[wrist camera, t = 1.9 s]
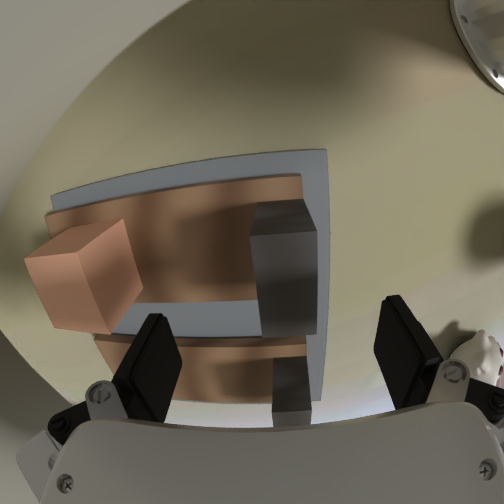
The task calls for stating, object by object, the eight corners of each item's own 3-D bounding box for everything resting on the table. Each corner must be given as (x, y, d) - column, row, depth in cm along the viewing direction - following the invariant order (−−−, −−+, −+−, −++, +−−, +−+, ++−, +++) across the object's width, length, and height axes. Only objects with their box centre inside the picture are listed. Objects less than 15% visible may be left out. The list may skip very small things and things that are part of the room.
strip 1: (300, 173, 18) (315, 197, 11) (305, 288, 22) (315, 352, 15) (52, 212, 20) (-1, 243, 14) (81, 295, 24) (42, 338, 17)
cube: (123, 218, 19) (76, 252, 13) (143, 287, 21) (110, 334, 16) (69, 227, 19) (23, 258, 14) (90, 288, 22) (54, 327, 17)
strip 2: (305, 334, 24) (312, 399, 17) (304, 392, 27) (307, 447, 21) (98, 333, 26) (67, 377, 20) (127, 385, 30) (108, 427, 23)
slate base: (324, 148, 18) (326, 149, 17) (319, 394, 29) (320, 400, 28) (57, 193, 21) (50, 196, 20) (138, 389, 32) (135, 394, 31)
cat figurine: (481, 428, 20) (511, 387, 14) (433, 428, 26) (443, 390, 19) (488, 371, 26) (509, 311, 19) (444, 372, 31) (451, 314, 25)
